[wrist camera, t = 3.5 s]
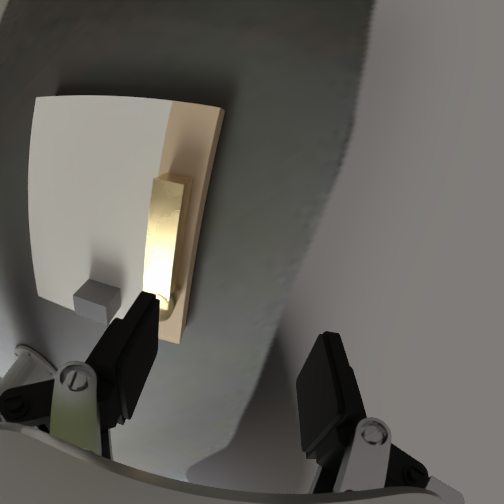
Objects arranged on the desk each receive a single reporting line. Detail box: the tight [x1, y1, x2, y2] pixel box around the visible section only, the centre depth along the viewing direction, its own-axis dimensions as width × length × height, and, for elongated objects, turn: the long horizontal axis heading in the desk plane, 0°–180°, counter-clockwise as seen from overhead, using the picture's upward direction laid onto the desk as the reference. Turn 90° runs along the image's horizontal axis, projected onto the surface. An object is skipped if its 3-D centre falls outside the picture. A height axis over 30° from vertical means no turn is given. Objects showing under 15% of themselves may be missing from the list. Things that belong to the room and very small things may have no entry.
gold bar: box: [143, 173, 194, 322], centre depth 23 cm, size 13×3×3 cm, turn 167°
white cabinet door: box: [28, 95, 225, 344], centre depth 24 cm, size 24×20×6 cm
